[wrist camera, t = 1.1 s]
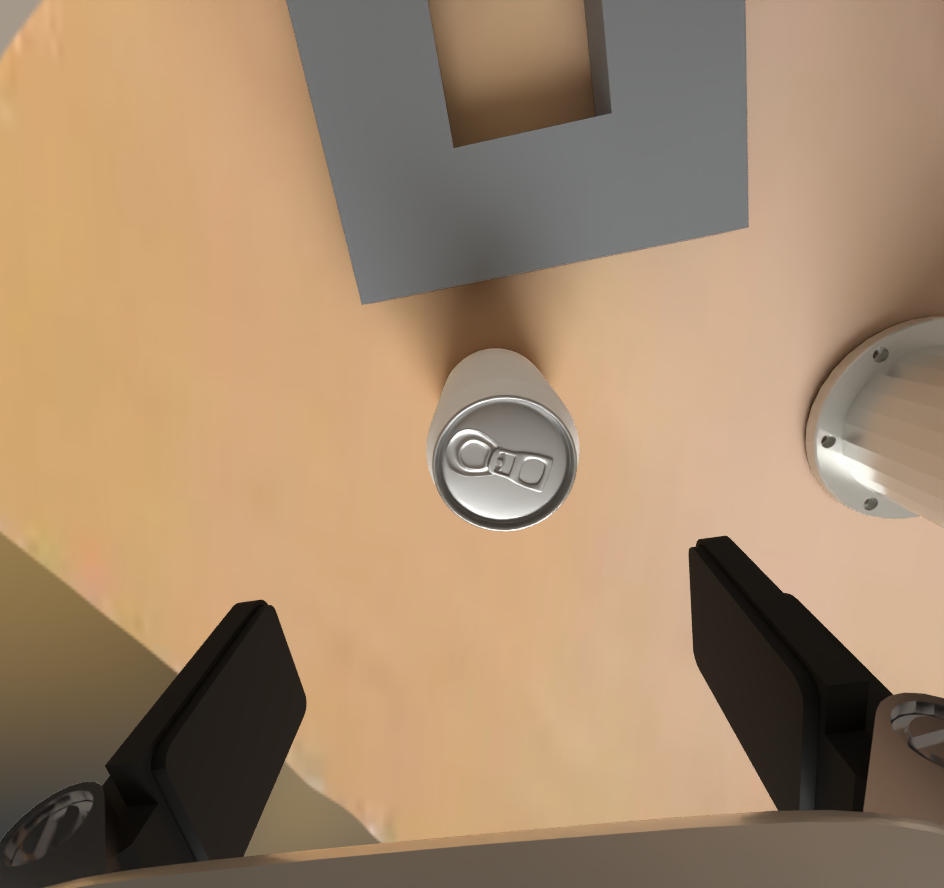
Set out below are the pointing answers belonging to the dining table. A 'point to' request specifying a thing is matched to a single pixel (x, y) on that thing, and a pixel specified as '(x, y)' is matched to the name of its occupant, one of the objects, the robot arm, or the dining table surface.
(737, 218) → the socket block
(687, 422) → the dining table surface
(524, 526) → the can
